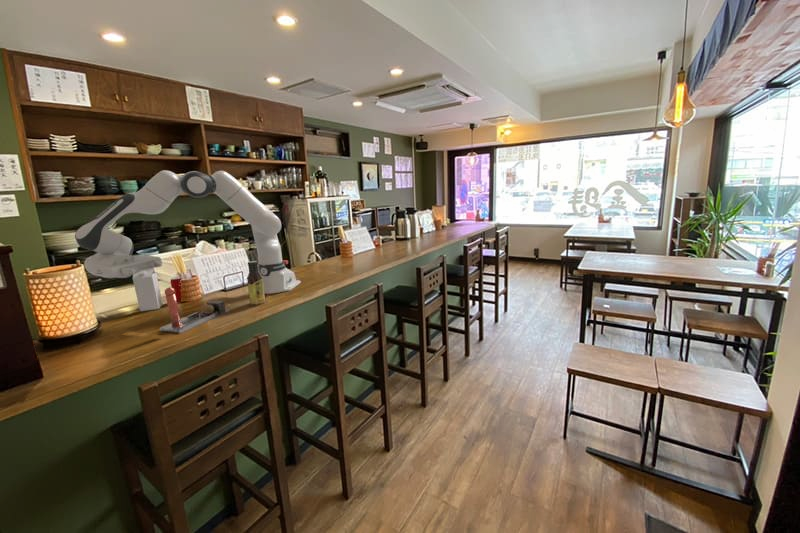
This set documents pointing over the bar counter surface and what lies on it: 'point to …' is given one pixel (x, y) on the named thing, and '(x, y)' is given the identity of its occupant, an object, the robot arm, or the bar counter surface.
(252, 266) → the sauce bottle
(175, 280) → the soda can
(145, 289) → the milk carton
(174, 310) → the lever
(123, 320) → the bar counter surface
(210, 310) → the walnut
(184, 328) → the bed
